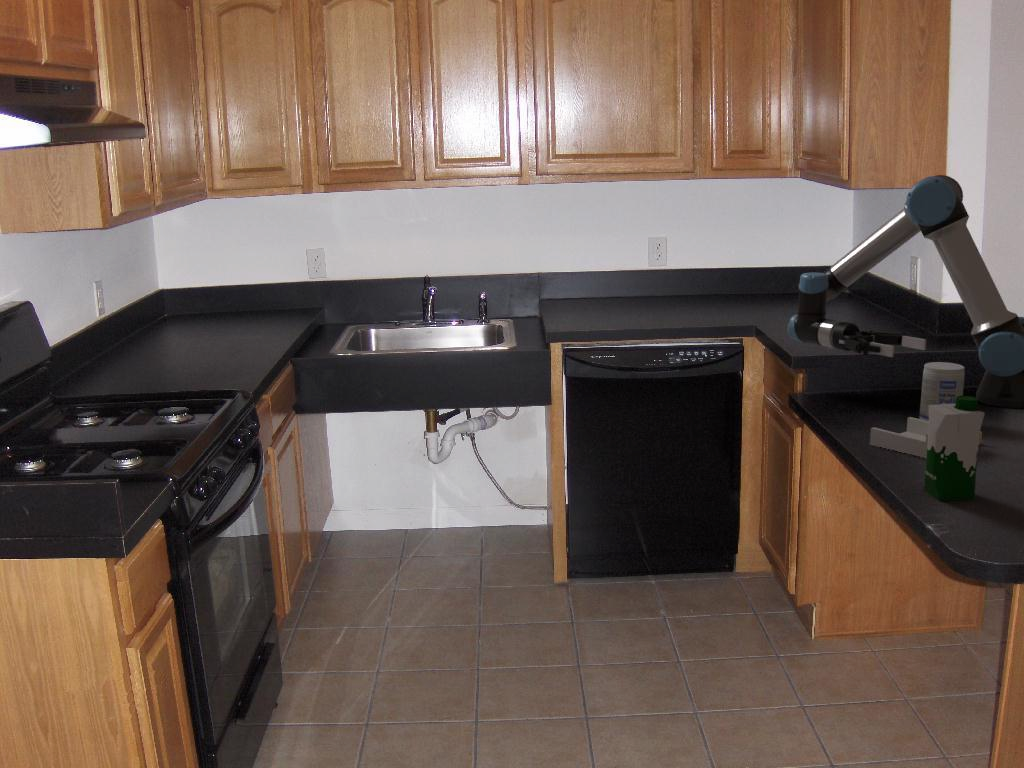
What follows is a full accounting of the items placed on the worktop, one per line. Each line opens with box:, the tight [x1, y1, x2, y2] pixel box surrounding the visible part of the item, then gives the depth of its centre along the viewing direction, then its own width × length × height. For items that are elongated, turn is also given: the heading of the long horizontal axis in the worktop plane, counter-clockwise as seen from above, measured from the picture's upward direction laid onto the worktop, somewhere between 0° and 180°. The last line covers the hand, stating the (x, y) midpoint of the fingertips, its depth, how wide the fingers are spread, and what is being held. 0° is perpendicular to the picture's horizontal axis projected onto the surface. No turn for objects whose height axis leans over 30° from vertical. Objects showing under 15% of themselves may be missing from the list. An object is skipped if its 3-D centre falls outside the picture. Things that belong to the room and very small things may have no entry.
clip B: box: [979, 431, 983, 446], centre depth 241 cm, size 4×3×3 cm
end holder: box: [869, 416, 929, 458], centre depth 240 cm, size 15×15×6 cm
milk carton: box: [923, 395, 985, 502], centre depth 207 cm, size 9×9×20 cm
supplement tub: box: [918, 361, 966, 421], centre depth 258 cm, size 10×10×15 cm
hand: (909, 348), depth 263 cm, fingers open, 13 cm apart
